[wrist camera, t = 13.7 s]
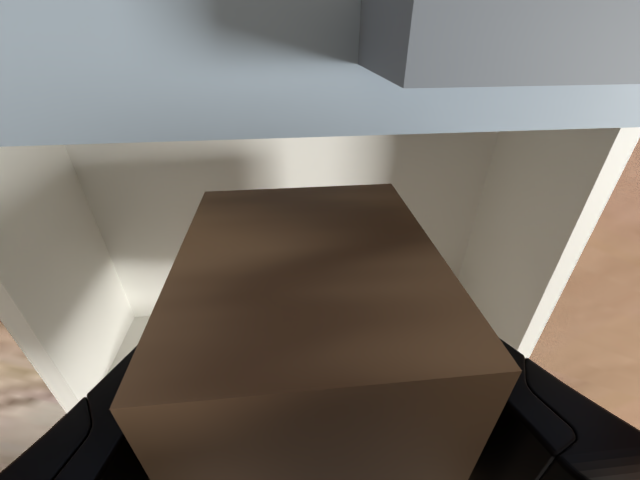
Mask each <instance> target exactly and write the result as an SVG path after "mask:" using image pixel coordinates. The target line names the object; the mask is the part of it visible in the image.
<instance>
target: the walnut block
mask: <svg viewBox="0 0 640 480" xmlns="http://www.w3.org/2000/svg"><path fill="white" fill-rule="evenodd" d="M521 372H522V370H521V369H520V367H519V366H518V364H517V363H516V362H515V360H514V359H513V357H512V356H511V354H510V353H509V352H508V350H507V349H506V347H505V346H504V344H503V343H502V342H501V340H500V339H499V337H498V336H497V334H496V333H495V332H494V330H493V329H492V327H491V326H490V324H489V323H488V321H487V320H486V319H485V317H484V316H483V314H482V313H481V311H480V310H479V309H478V307H477V306H476V304H475V303H474V301H473V300H472V299H471V297H470V296H469V294H468V293H467V291H466V290H465V288H464V287H463V286H462V284H461V283H460V281H459V280H458V278H457V277H456V276H455V274H454V273H453V271H452V270H451V268H450V267H449V266H448V264H447V263H446V261H445V260H444V258H443V257H442V256H441V254H440V253H439V251H438V250H437V248H436V247H435V245H434V244H433V243H432V241H431V240H430V238H429V237H428V235H427V234H426V233H425V231H424V230H423V228H422V227H421V225H420V224H419V223H418V221H417V220H416V218H415V217H414V215H413V214H412V213H411V211H410V210H409V208H408V207H407V205H406V204H405V202H404V201H403V200H402V198H401V197H400V195H399V194H398V192H397V191H396V190H395V188H394V187H393V185H392V184H371V185H347V186H324V187H301V188H277V189H254V190H231V191H207V192H205V193H204V195H203V197H202V199H201V202H200V204H199V206H198V208H197V211H196V213H195V215H194V218H193V220H192V222H191V224H190V227H189V229H188V231H187V234H186V236H185V238H184V240H183V243H182V245H181V247H180V249H179V252H178V254H177V256H176V259H175V261H174V263H173V265H172V268H171V270H170V272H169V274H168V277H167V279H166V281H165V284H164V286H163V288H162V290H161V293H160V295H159V297H158V300H157V302H156V304H155V306H154V309H153V311H152V313H151V315H150V318H149V320H148V322H147V325H146V327H145V329H144V331H143V334H142V336H141V338H140V340H139V343H138V345H137V347H136V350H135V352H134V354H133V356H132V359H131V361H130V363H129V366H128V368H127V370H126V372H125V375H124V377H123V379H122V381H121V384H120V386H119V388H118V391H117V393H116V395H115V397H114V400H113V402H112V404H111V406H110V409H109V410H110V411H111V413H112V415H113V417H114V418H115V420H116V422H117V424H118V425H119V427H120V429H121V430H122V432H123V434H124V436H125V437H126V439H127V441H128V443H129V444H130V446H131V448H132V449H133V451H134V453H135V455H136V456H137V458H138V460H139V461H140V463H141V465H142V467H143V468H144V470H145V472H146V474H147V475H148V477H149V479H150V480H468V479H469V477H470V475H471V473H472V471H473V469H474V467H475V465H476V463H477V461H478V459H479V456H480V454H481V452H482V450H483V448H484V446H485V444H486V442H487V440H488V438H489V436H490V434H491V432H492V430H493V428H494V426H495V424H496V422H497V420H498V418H499V416H500V414H501V412H502V410H503V408H504V406H505V404H506V402H507V400H508V398H509V396H510V394H511V392H512V390H513V388H514V386H515V384H516V382H517V380H518V378H519V376H520V374H521Z"/></svg>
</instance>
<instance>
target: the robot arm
mask: <svg viewBox="0 0 640 480" xmlns="http://www.w3.org/2000/svg"><path fill="white" fill-rule="evenodd" d="M499 339H500V338H499ZM500 340H501V342H502V343H503V344H504V346H505V347H506V349H507V350H508V352H509V353H510V354H511V356H512V357H513V359H514V360H515V362H516V363H517V364H518V366H519V367H520V369H521V370H522V372H521V374H520V376H519V378H518V380H517V382H516V384H515V386H514V388H513V390H512V392H511V394H510V396H509V398H508V400H507V402H506V404H505V406H504V408H503V410H502V412H501V414H500V416H499V418H498V420H497V422H496V424H495V426H494V428H493V430H492V432H491V434H490V436H489V438H488V440H487V442H486V444H485V446H484V448H483V450H482V452H481V454H480V456H479V459H478V461H477V463H476V465H475V467H474V469H473V471H472V473H471V475H470V477H469V479H468V480H640V430H638V429H636V428H635V427H633V426H632V425H630V424H628V423H627V422H625V421H623V420H622V419H620V418H619V417H617V416H615V415H614V414H612V413H610V412H609V411H607V410H606V409H604V408H602V407H601V406H599V405H598V404H596V403H594V402H593V401H591V400H590V399H588V398H586V397H585V396H583V395H582V394H580V393H579V392H577V391H575V390H574V389H572V388H571V387H569V386H568V385H566V384H565V383H563V382H562V381H560V380H559V379H557V378H556V377H554V376H553V375H551V374H550V373H548V372H547V371H546V370H544V369H543V368H541V367H540V366H538V365H537V364H536V363H534V362H533V361H531V360H530V359H529V358H525V357H524V355H523V354H521V353H520V352H519V351H517V350H516V349H514V348H513V347H512V346H510V345H509V344H507V343H506V342H505V341H503V340H502V339H500ZM136 347H137V346H136ZM136 347H135V348H134V349H133V350H132V351H131V352H130V353H129V354H128V355H127V356H125V357H124V358H123V359H122V360H121V361H120V362H119V363H118V364H117V365H116V366H115V367H114V368H113V369H112V370H111V371H110V372H109V373H108V374H107V375H106V376H105V377H104V378H103V379H102V380H101V381H100V382H99V383H98V384H97V385H96V386H95V387H94V388H93V389H92V390H91V391H90V392H88V393H87V397H83V398H82V399H81V400H80V401H79V402H78V403H77V404H76V405H75V406H74V407H73V408H72V409H71V410H70V411H69V412H68V413H67V414H66V415H65V416H63V417H62V418H61V419H60V420H59V421H58V422H57V423H56V424H55V425H54V426H53V427H52V428H51V429H50V430H49V431H47V432H46V433H45V434H44V435H43V436H42V437H41V438H40V439H39V440H37V441H36V442H35V443H34V444H33V445H32V446H31V447H29V448H28V449H27V450H26V451H25V452H24V453H23V454H21V455H20V456H19V457H18V458H17V459H16V460H15V461H13V462H12V463H11V464H10V465H9V466H8V467H6V468H5V469H4V470H3V471H2V472H0V480H150V479H149V477H148V475H147V474H146V472H145V470H144V468H143V467H142V465H141V463H140V461H139V460H138V458H137V456H136V455H135V453H134V451H133V449H132V448H131V446H130V444H129V443H128V441H127V439H126V437H125V436H124V434H123V432H122V430H121V429H120V427H119V425H118V424H117V422H116V420H115V418H114V417H113V415H112V413H111V411H110V410H109V409H110V406H111V404H112V402H113V400H114V397H115V395H116V393H117V391H118V388H119V386H120V384H121V381H122V379H123V377H124V375H125V372H126V370H127V368H128V366H129V363H130V361H131V359H132V356H133V354H134V352H135V350H136Z"/></svg>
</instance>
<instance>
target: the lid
mask: <svg viewBox="0 0 640 480" xmlns="http://www.w3.org/2000/svg"><path fill="white" fill-rule="evenodd" d="M628 127H640V0H0V147H8V146H40V145H73V144H106V143H138V142H171V141H204V140H236V139H269V138H301V137H334V136H367V135H399V134H432V133H465V132H497V131H530V130H563V129H595V128H628Z"/></svg>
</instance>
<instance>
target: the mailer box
mask: <svg viewBox="0 0 640 480" xmlns="http://www.w3.org/2000/svg"><path fill="white" fill-rule="evenodd" d="M639 138H640V127H628V128H595V129H563V130H530V131H497V132H465V133H432V134H399V135H367V136H334V137H301V138H269V139H236V140H204V141H171V142H138V143H106V144H73V145H40V146H8V147H0V320H1V322H2V323H3V324H4V326H5V327H6V329H7V330H8V332H9V333H10V334H11V336H12V337H13V339H14V340H15V341H16V343H17V344H18V346H19V347H20V348H21V350H22V351H23V353H24V354H25V356H26V357H27V358H28V360H29V361H30V363H31V364H32V365H33V367H34V368H35V370H36V371H37V373H38V374H39V375H40V377H41V378H42V380H43V381H44V382H45V384H46V385H47V387H48V388H49V389H50V391H51V392H52V394H53V395H54V397H55V398H56V399H57V401H58V402H59V404H60V405H61V406H62V408H63V409H64V411H65V412H66V414H67V413H68V412H69V411H70V410H71V409H72V408H73V407H74V406H75V405H76V404H77V403H78V402H79V401H80V400H81V399H82V398H83V397H87V393H88V392H90V391H91V390H92V389H93V388H94V387H95V386H96V385H97V384H98V383H99V382H100V381H101V380H102V379H103V378H104V377H105V376H106V375H107V374H108V373H109V372H110V371H111V370H112V369H113V368H114V367H115V366H116V365H117V364H118V363H119V362H120V361H121V360H122V359H123V358H124V357H125V356H127V355H128V354H129V353H130V352H131V351H132V350H133V349H134V348H135V347H136V346H137V345H138V343H139V340H140V338H141V336H142V334H143V331H144V329H145V327H146V325H147V322H148V320H149V318H150V315H151V313H152V311H153V309H154V306H155V304H156V302H157V300H158V297H159V295H160V293H161V290H162V288H163V286H164V284H165V281H166V279H167V277H168V274H169V272H170V270H171V268H172V265H173V263H174V261H175V259H176V256H177V254H178V252H179V249H180V247H181V245H182V243H183V240H184V238H185V236H186V234H187V231H188V229H189V227H190V224H191V222H192V220H193V218H194V215H195V213H196V211H197V208H198V206H199V204H200V202H201V199H202V197H203V195H204V193H205V192H207V191H231V190H254V189H277V188H301V187H324V186H347V185H371V184H392V185H393V187H394V188H395V190H396V191H397V192H398V194H399V195H400V197H401V198H402V200H403V201H404V202H405V204H406V205H407V207H408V208H409V210H410V211H411V213H412V214H413V215H414V217H415V218H416V220H417V221H418V223H419V224H420V225H421V227H422V228H423V230H424V231H425V233H426V234H427V235H428V237H429V238H430V240H431V241H432V243H433V244H434V245H435V247H436V248H437V250H438V251H439V253H440V254H441V256H442V257H443V258H444V260H445V261H446V263H447V264H448V266H449V267H450V268H451V270H452V271H453V273H454V274H455V276H456V277H457V278H458V280H459V281H460V283H461V284H462V286H463V287H464V288H465V290H466V291H467V293H468V294H469V296H470V297H471V299H472V300H473V301H474V303H475V304H476V306H477V307H478V309H479V310H480V311H481V313H482V314H483V316H484V317H485V319H486V320H487V321H488V323H489V324H490V326H491V327H492V329H493V330H494V332H495V333H496V334H497V336H498V337H499V338H500V339H502V340H503V341H505V342H506V343H507V344H509V345H510V346H512V347H513V348H514V349H516V350H517V351H519V352H520V353H521V354H523V355H524V357H525V358H529V357H530V355H531V353H532V351H533V349H534V347H535V345H536V343H537V341H538V339H539V337H540V335H541V333H542V331H543V329H544V327H545V325H546V323H547V321H548V319H549V317H550V315H551V313H552V311H553V309H554V307H555V305H556V303H557V301H558V299H559V297H560V295H561V293H562V291H563V289H564V287H565V285H566V283H567V281H568V279H569V277H570V275H571V273H572V271H573V269H574V267H575V265H576V263H577V261H578V259H579V257H580V255H581V253H582V251H583V249H584V247H585V245H586V243H587V241H588V239H589V237H590V235H591V233H592V231H593V229H594V227H595V225H596V223H597V221H598V219H599V217H600V215H601V213H602V211H603V209H604V207H605V205H606V203H607V201H608V199H609V197H610V195H611V193H612V191H613V189H614V187H615V185H616V183H617V181H618V179H619V178H620V176H621V174H622V172H623V170H624V168H625V166H626V164H627V162H628V160H629V158H630V156H631V154H632V152H633V150H634V148H635V146H636V144H637V142H638V140H639Z"/></svg>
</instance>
